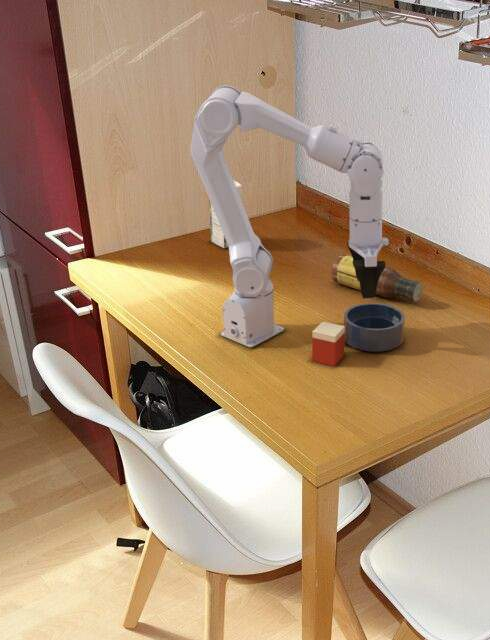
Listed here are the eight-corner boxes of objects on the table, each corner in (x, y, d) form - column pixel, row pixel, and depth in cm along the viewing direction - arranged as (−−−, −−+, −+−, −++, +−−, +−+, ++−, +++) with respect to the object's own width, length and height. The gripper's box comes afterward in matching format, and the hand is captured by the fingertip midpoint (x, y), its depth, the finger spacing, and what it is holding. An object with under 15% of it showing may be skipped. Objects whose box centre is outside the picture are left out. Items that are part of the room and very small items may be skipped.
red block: (334, 366, 147) (335, 336, 144) (312, 361, 148) (312, 331, 145) (344, 355, 150) (345, 326, 147) (322, 350, 152) (322, 321, 149)
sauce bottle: (343, 280, 180) (421, 308, 171) (327, 282, 175) (406, 311, 166) (349, 251, 178) (429, 277, 168) (333, 252, 173) (414, 280, 163)
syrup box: (231, 236, 199) (228, 177, 192) (245, 244, 196) (242, 183, 188) (210, 242, 196) (207, 181, 188) (224, 249, 192) (221, 188, 185)
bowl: (379, 360, 149) (381, 336, 146) (331, 341, 155) (331, 317, 152) (414, 338, 157) (416, 314, 154) (366, 321, 162) (368, 297, 160)
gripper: (395, 230, 138) (393, 304, 146) (382, 202, 151) (381, 271, 158) (353, 232, 138) (353, 306, 145) (343, 204, 150) (344, 273, 157)
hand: (365, 288), depth 152 cm, fingers open, 7 cm apart
